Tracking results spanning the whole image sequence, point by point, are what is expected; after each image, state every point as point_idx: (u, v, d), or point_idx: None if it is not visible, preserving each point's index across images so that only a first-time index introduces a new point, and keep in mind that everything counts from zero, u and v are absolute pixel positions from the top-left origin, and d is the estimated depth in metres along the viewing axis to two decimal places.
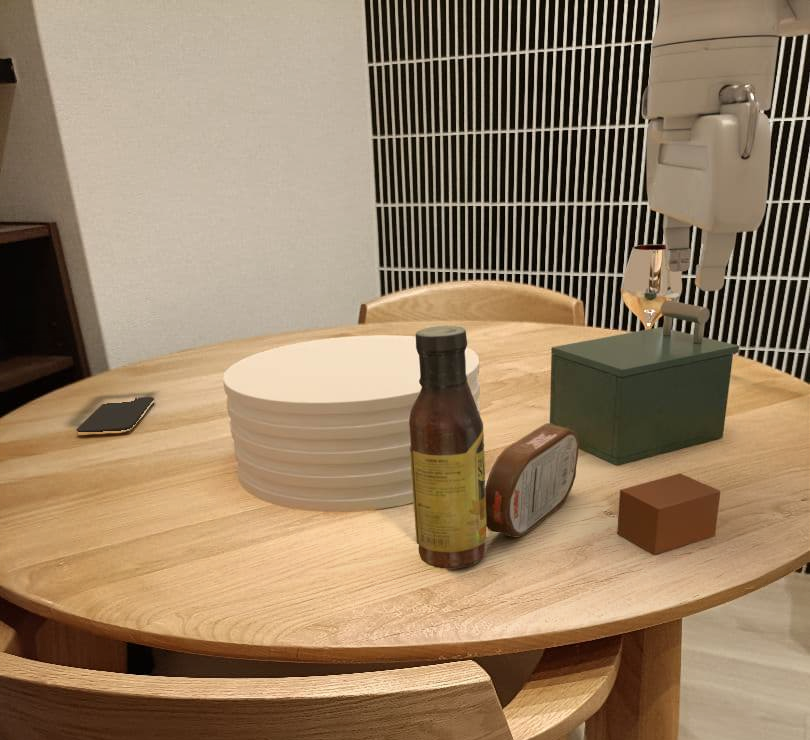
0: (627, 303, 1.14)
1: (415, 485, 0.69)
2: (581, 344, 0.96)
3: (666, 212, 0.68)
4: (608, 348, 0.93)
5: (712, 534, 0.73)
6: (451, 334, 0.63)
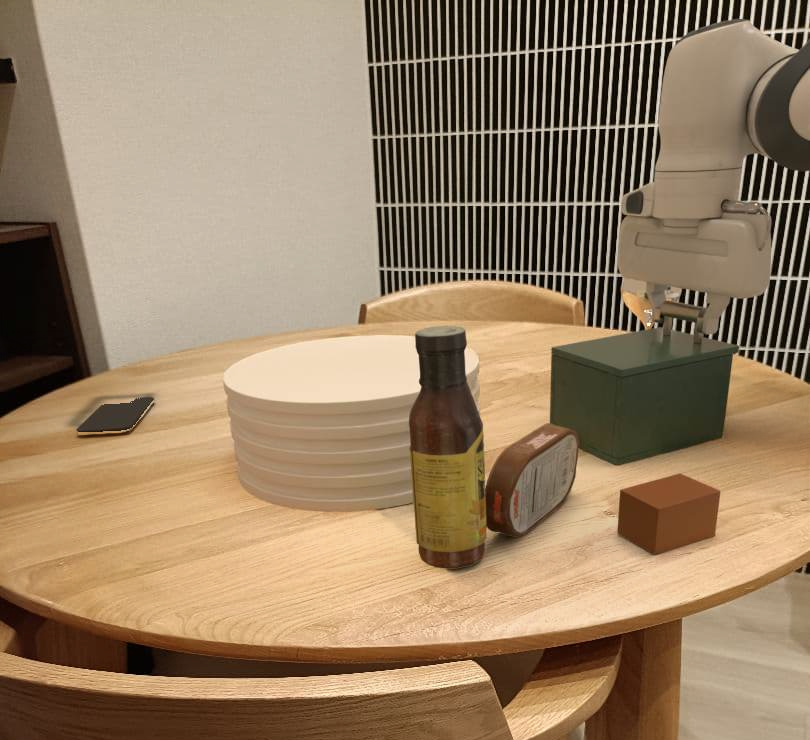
0: (627, 303, 1.14)
1: (415, 485, 0.69)
2: (581, 344, 0.96)
3: (657, 281, 0.94)
4: (608, 348, 0.93)
5: (712, 534, 0.73)
6: (451, 334, 0.63)
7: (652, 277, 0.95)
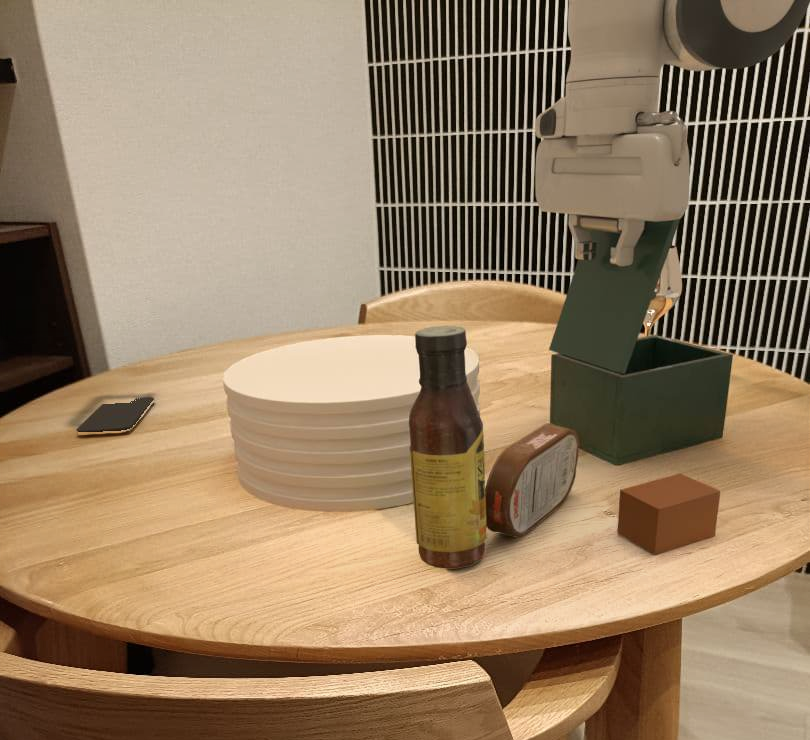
0: None
1: (415, 485, 0.69)
2: (564, 321, 0.93)
3: (574, 211, 0.86)
4: (586, 316, 0.90)
5: (712, 534, 0.73)
6: (451, 334, 0.63)
7: (569, 207, 0.86)
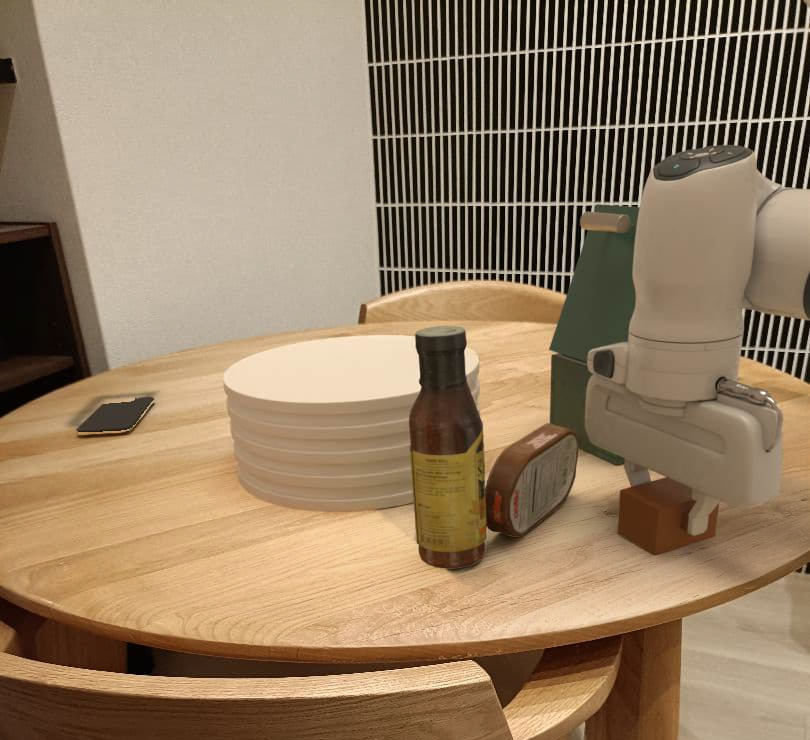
0: None
1: (415, 485, 0.69)
2: (564, 321, 0.93)
3: (633, 460, 0.73)
4: (586, 316, 0.90)
5: (712, 534, 0.73)
6: (451, 334, 0.63)
7: (627, 454, 0.73)
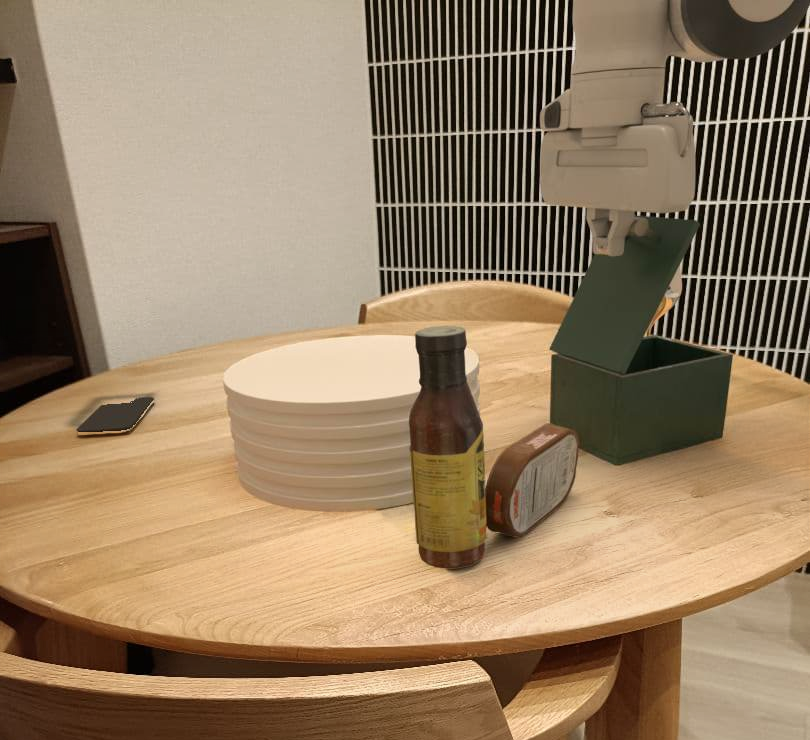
0: None
1: (415, 485, 0.69)
2: (568, 322, 0.94)
3: (579, 203, 0.86)
4: (591, 318, 0.91)
5: None
6: (451, 334, 0.63)
7: (574, 199, 0.86)
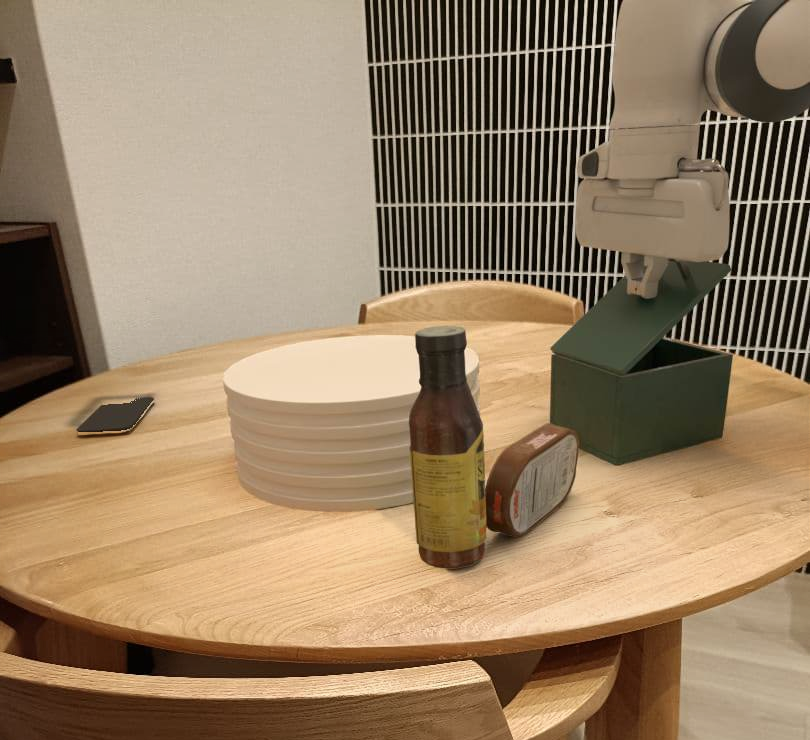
0: None
1: (415, 485, 0.69)
2: (576, 329, 0.94)
3: (614, 248, 0.90)
4: (602, 327, 0.92)
5: None
6: (451, 334, 0.63)
7: (610, 244, 0.90)
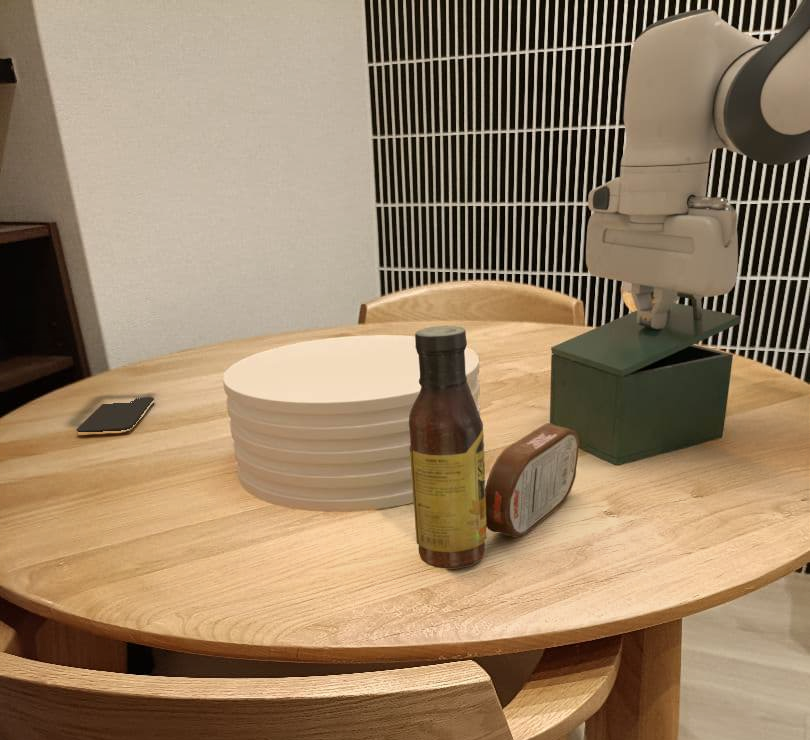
0: (627, 303, 1.14)
1: (415, 485, 0.69)
2: (580, 338, 0.95)
3: (624, 279, 0.92)
4: (607, 340, 0.93)
5: None
6: (451, 334, 0.63)
7: (620, 275, 0.92)
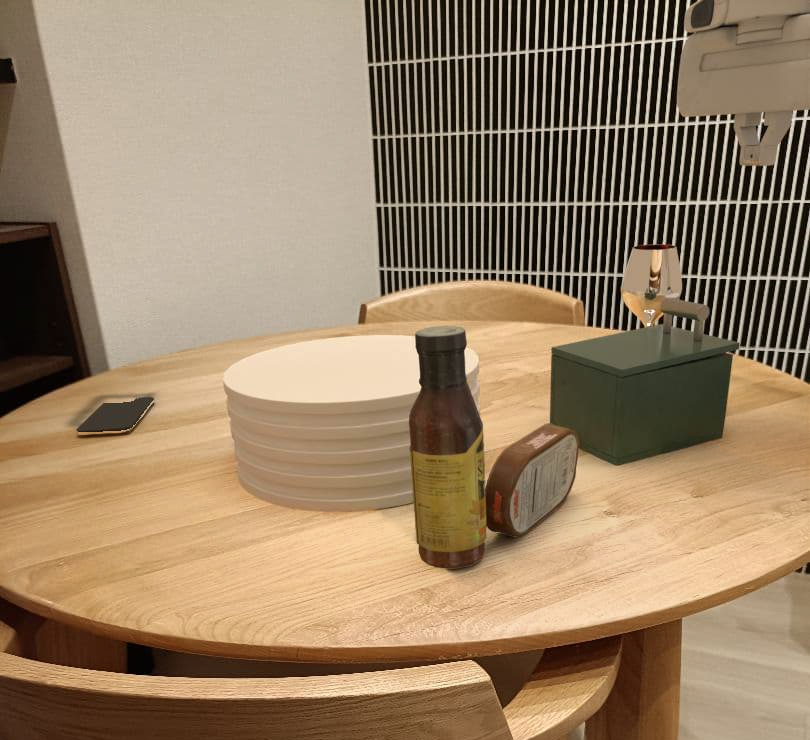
0: (627, 303, 1.14)
1: (415, 485, 0.69)
2: (581, 343, 0.96)
3: (727, 110, 0.80)
4: (608, 347, 0.93)
5: None
6: (451, 334, 0.63)
7: (721, 106, 0.80)
